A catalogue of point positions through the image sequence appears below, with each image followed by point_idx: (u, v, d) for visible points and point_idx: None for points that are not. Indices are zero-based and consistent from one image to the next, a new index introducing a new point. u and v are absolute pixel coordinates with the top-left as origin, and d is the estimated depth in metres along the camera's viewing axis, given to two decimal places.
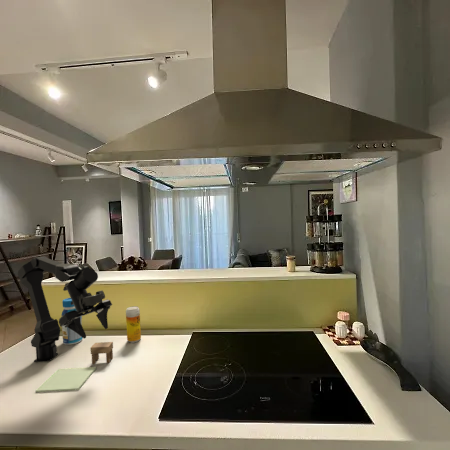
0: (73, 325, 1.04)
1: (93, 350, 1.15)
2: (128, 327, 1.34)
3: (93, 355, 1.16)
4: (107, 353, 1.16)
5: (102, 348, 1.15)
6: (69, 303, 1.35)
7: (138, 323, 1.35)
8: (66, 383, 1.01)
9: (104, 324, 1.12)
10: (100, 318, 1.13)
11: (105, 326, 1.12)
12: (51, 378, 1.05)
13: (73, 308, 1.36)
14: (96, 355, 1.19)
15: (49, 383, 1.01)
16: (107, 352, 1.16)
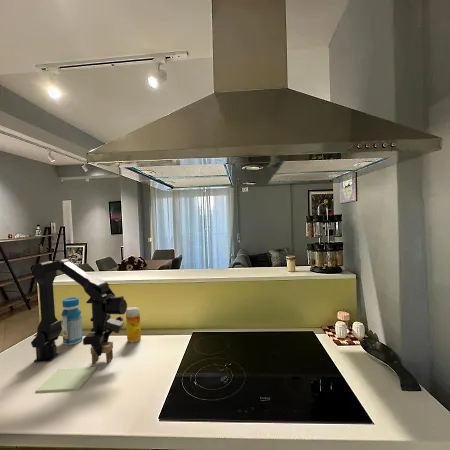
0: None
1: (93, 350, 1.15)
2: (128, 327, 1.34)
3: (93, 355, 1.16)
4: (107, 353, 1.16)
5: (102, 348, 1.15)
6: (69, 303, 1.35)
7: (138, 323, 1.35)
8: (66, 383, 1.01)
9: None
10: None
11: None
12: (51, 378, 1.05)
13: (73, 308, 1.36)
14: (96, 355, 1.19)
15: (49, 383, 1.01)
16: (107, 352, 1.16)
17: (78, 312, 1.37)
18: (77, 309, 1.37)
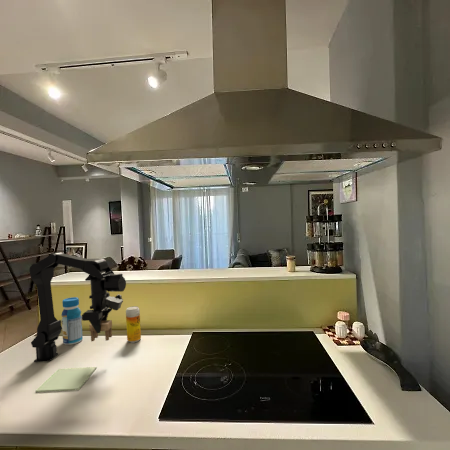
0: (93, 319, 1.13)
1: (92, 328, 1.15)
2: (128, 327, 1.34)
3: (92, 332, 1.15)
4: (106, 330, 1.15)
5: (101, 325, 1.15)
6: (69, 303, 1.35)
7: (138, 323, 1.35)
8: (66, 383, 1.01)
9: None
10: None
11: None
12: (51, 378, 1.05)
13: (73, 308, 1.36)
14: (95, 333, 1.18)
15: (49, 383, 1.01)
16: (106, 329, 1.15)
17: (78, 312, 1.37)
18: (77, 309, 1.37)
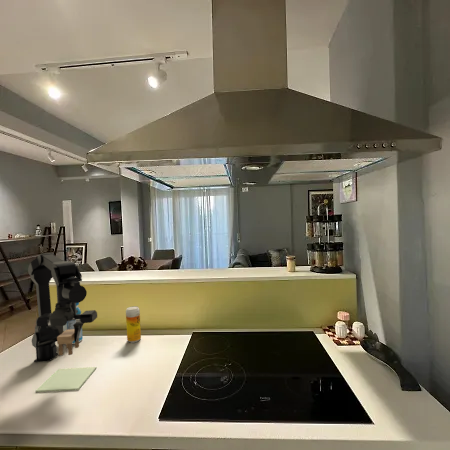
0: (58, 325, 1.06)
1: None
2: (128, 327, 1.34)
3: None
4: None
5: None
6: None
7: (138, 323, 1.35)
8: (66, 383, 1.01)
9: None
10: None
11: None
12: (51, 378, 1.05)
13: None
14: None
15: (49, 383, 1.01)
16: None
17: (78, 312, 1.37)
18: (77, 309, 1.37)
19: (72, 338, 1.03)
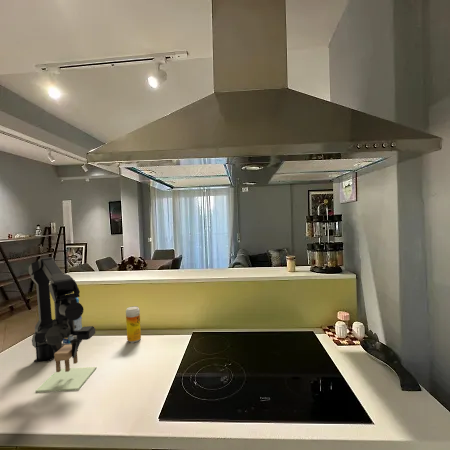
0: None
1: None
2: (128, 327, 1.34)
3: None
4: None
5: None
6: None
7: (138, 323, 1.35)
8: (66, 383, 1.01)
9: None
10: None
11: None
12: (51, 378, 1.05)
13: None
14: None
15: (49, 383, 1.01)
16: None
17: None
18: None
19: (70, 354, 1.03)
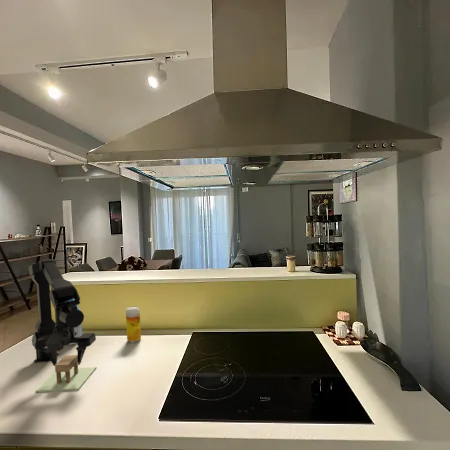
0: None
1: None
2: (128, 327, 1.34)
3: None
4: None
5: None
6: None
7: (138, 323, 1.35)
8: (66, 383, 1.01)
9: None
10: None
11: None
12: (51, 378, 1.05)
13: None
14: None
15: (49, 383, 1.01)
16: None
17: None
18: None
19: (70, 365, 1.03)
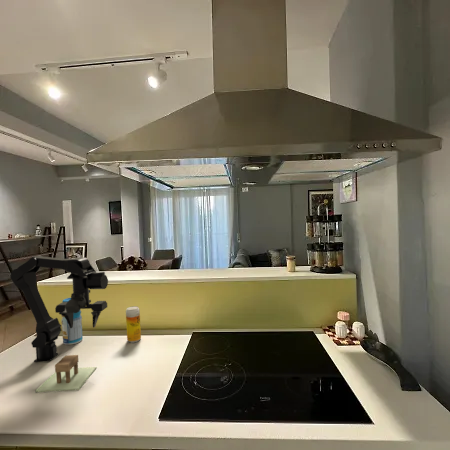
0: (68, 313, 1.21)
1: None
2: (128, 327, 1.34)
3: None
4: None
5: None
6: None
7: (138, 323, 1.35)
8: (66, 383, 1.01)
9: None
10: None
11: None
12: (51, 378, 1.05)
13: None
14: None
15: (49, 383, 1.01)
16: None
17: (78, 312, 1.37)
18: None
19: (70, 365, 1.03)
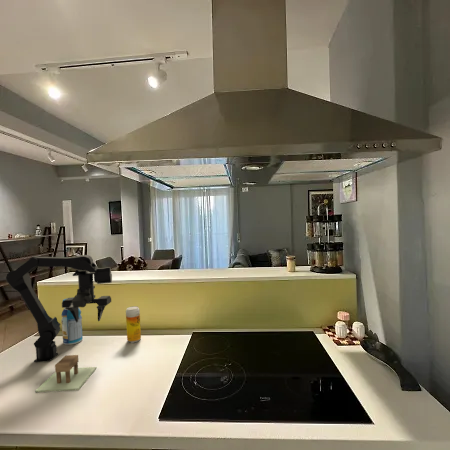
0: (74, 308, 1.27)
1: None
2: (128, 327, 1.34)
3: None
4: None
5: None
6: None
7: (138, 323, 1.35)
8: (66, 383, 1.01)
9: None
10: None
11: None
12: (51, 378, 1.05)
13: None
14: None
15: (49, 383, 1.01)
16: None
17: None
18: None
19: (70, 365, 1.03)
